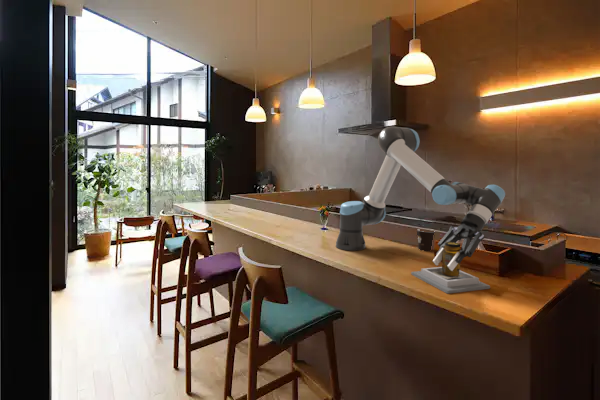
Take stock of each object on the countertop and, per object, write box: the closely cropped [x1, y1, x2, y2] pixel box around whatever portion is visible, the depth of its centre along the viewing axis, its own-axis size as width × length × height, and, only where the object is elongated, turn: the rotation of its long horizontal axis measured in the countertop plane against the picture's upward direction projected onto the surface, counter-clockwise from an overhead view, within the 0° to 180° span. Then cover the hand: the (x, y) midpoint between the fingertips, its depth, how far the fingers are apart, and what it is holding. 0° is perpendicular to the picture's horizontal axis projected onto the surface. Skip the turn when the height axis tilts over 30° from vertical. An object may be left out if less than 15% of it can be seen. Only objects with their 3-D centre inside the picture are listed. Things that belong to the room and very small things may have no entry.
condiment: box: [433, 242, 463, 279], centre depth 122 cm, size 7×8×12 cm
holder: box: [410, 266, 491, 294], centre depth 123 cm, size 20×18×3 cm
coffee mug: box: [416, 228, 436, 252], centre depth 170 cm, size 12×9×10 cm
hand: (442, 265), depth 121 cm, fingers closed on condiment, 6 cm apart
